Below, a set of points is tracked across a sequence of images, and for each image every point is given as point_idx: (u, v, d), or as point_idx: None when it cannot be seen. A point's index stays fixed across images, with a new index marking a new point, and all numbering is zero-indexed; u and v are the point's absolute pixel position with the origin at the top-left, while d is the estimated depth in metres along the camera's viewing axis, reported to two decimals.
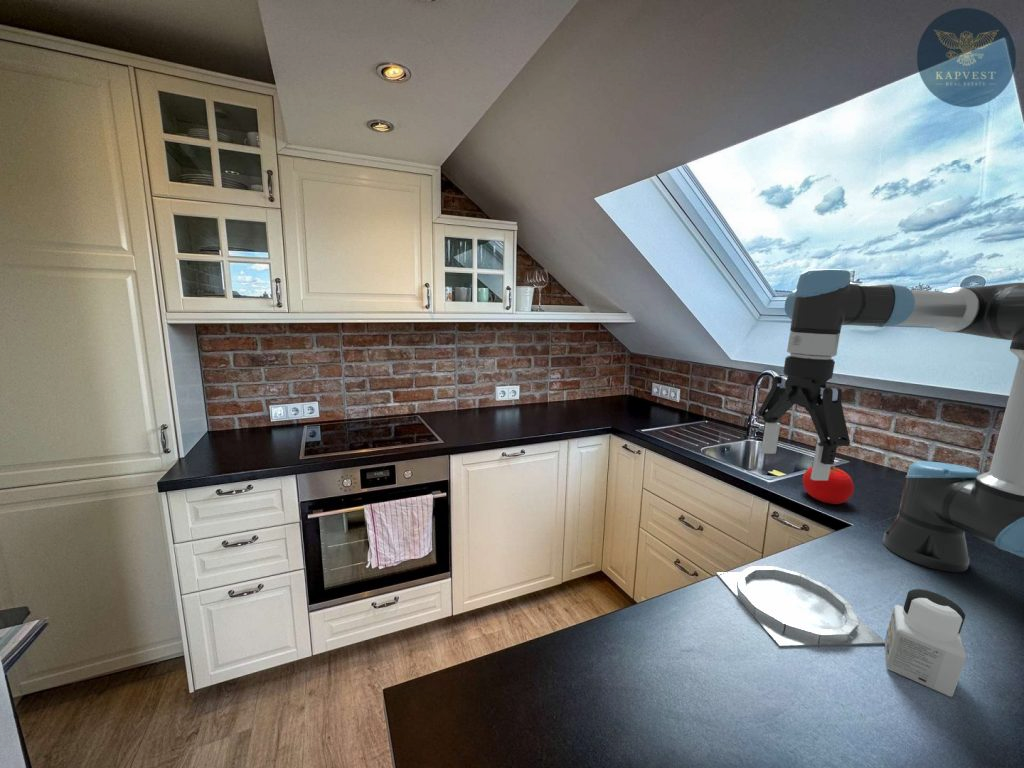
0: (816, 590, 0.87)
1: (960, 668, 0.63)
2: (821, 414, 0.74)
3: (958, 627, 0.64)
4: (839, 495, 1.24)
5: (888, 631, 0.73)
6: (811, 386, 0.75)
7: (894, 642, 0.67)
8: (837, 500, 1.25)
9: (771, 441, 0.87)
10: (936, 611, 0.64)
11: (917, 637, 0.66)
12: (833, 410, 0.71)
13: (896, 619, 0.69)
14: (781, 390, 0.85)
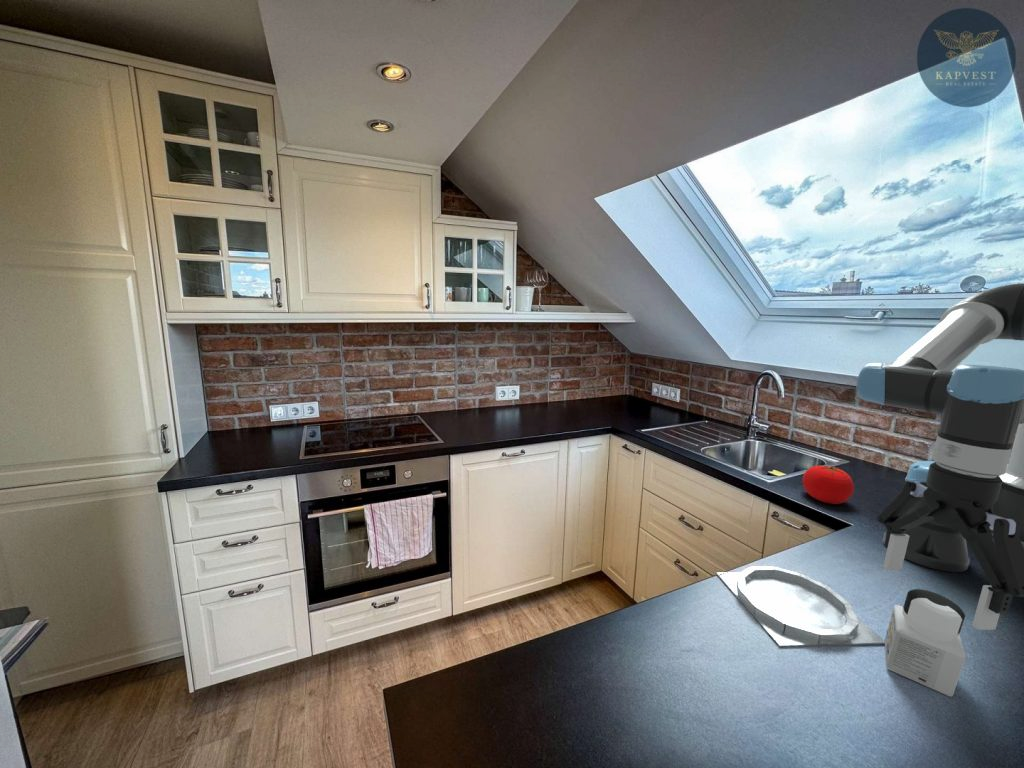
0: (816, 590, 0.87)
1: (960, 668, 0.63)
2: (987, 546, 0.60)
3: (958, 627, 0.64)
4: (839, 495, 1.24)
5: (888, 631, 0.73)
6: (972, 509, 0.61)
7: (894, 642, 0.67)
8: (837, 500, 1.25)
9: (897, 556, 0.72)
10: (936, 611, 0.64)
11: (917, 637, 0.66)
12: (1012, 548, 0.57)
13: (896, 619, 0.69)
14: (914, 498, 0.70)
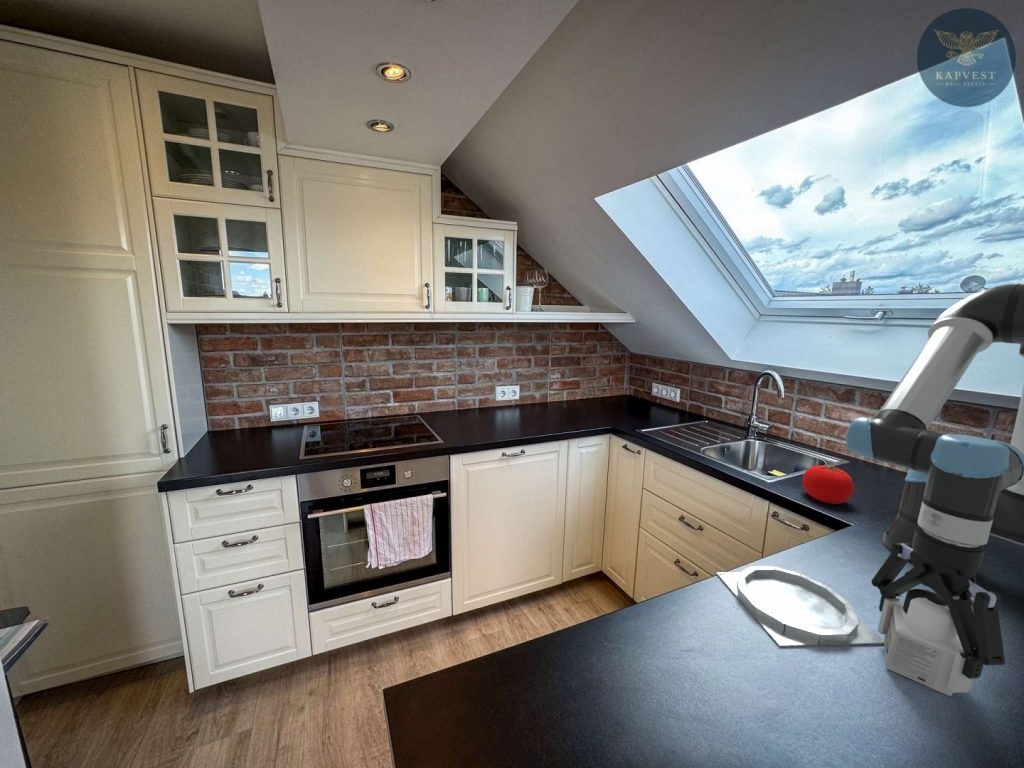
0: (816, 590, 0.87)
1: None
2: (965, 614, 0.62)
3: None
4: (839, 495, 1.24)
5: (887, 631, 0.73)
6: (956, 577, 0.63)
7: (893, 642, 0.68)
8: (837, 500, 1.25)
9: None
10: (936, 611, 0.64)
11: (916, 636, 0.66)
12: (988, 621, 0.59)
13: (895, 619, 0.69)
14: (903, 560, 0.72)
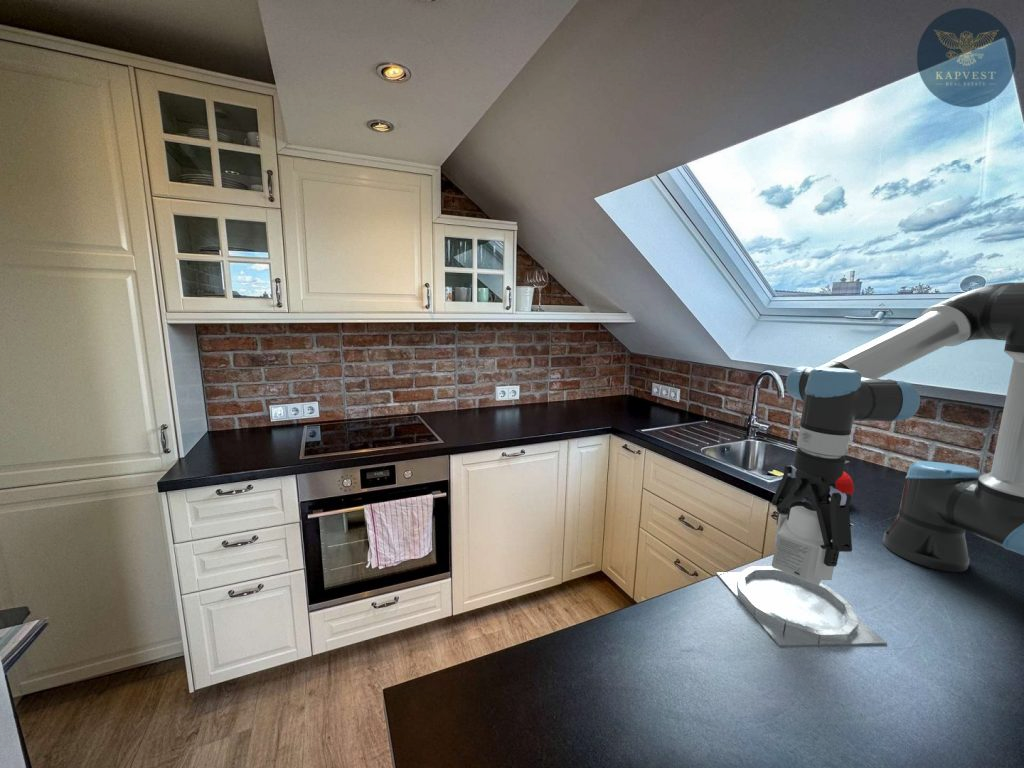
0: (816, 590, 0.87)
1: None
2: (828, 514, 0.75)
3: None
4: None
5: None
6: (821, 484, 0.75)
7: (776, 543, 0.80)
8: None
9: None
10: (806, 514, 0.77)
11: (792, 537, 0.78)
12: (840, 516, 0.72)
13: None
14: (793, 479, 0.84)
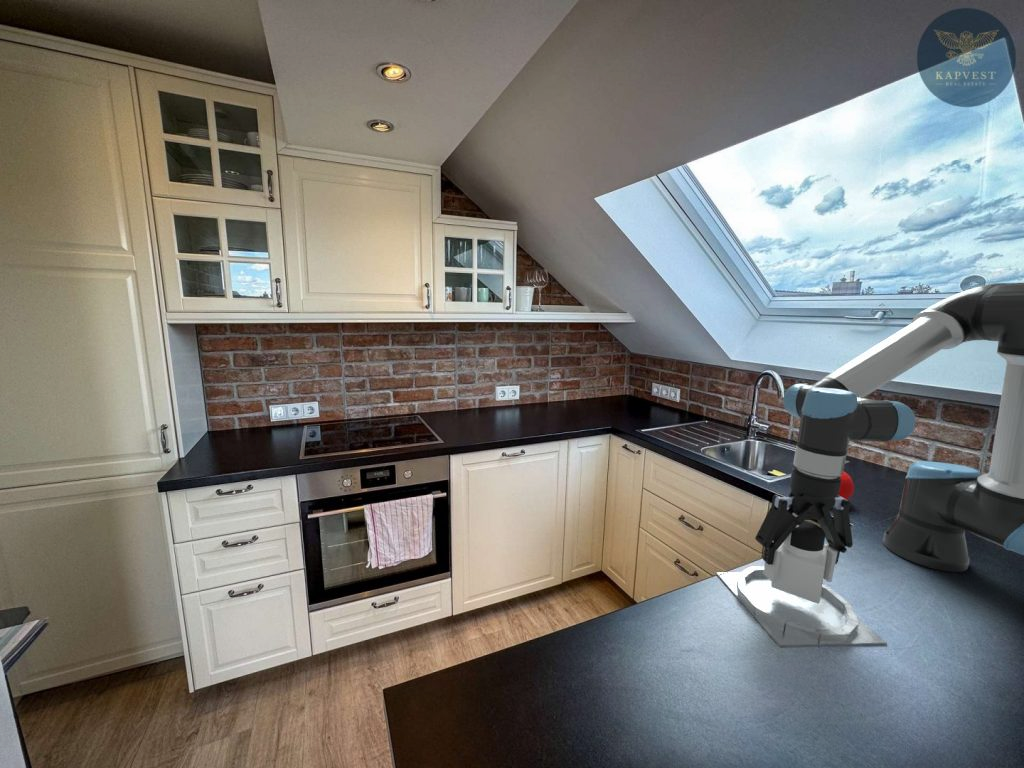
0: None
1: None
2: (785, 521, 0.80)
3: (789, 537, 0.80)
4: (839, 495, 1.24)
5: None
6: None
7: None
8: None
9: None
10: None
11: None
12: (770, 514, 0.79)
13: None
14: (838, 511, 0.80)
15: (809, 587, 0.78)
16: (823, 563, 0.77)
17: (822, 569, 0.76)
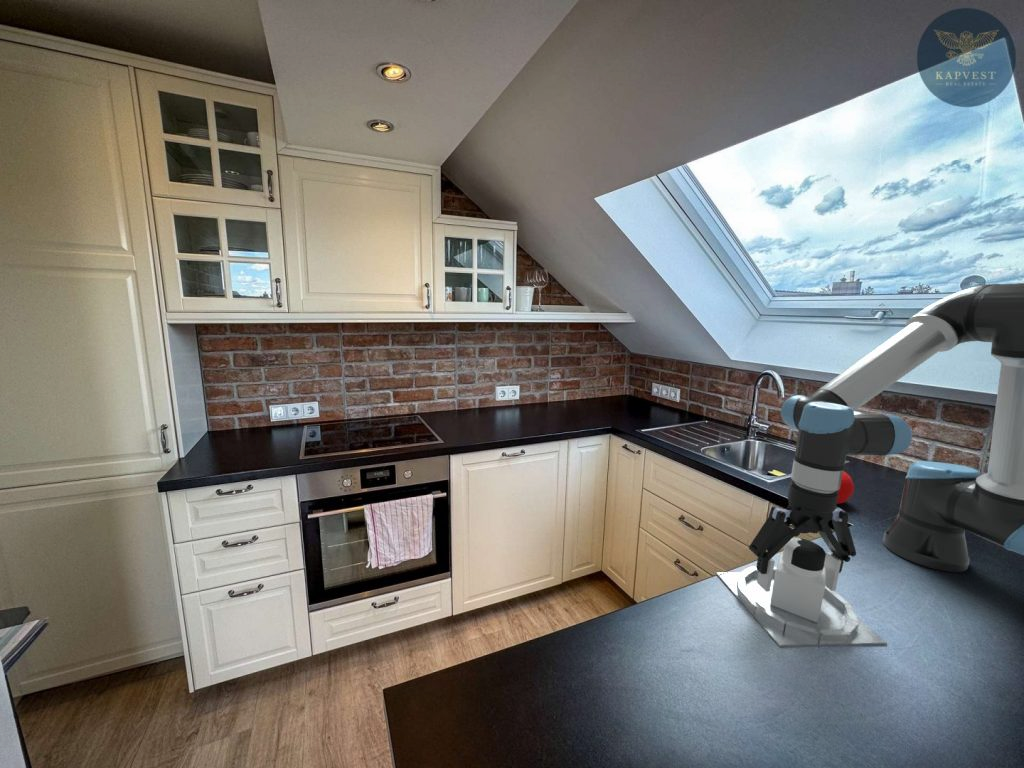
0: None
1: (774, 580, 0.81)
2: (780, 533, 0.80)
3: (790, 556, 0.80)
4: (839, 495, 1.24)
5: None
6: None
7: None
8: None
9: (828, 574, 0.82)
10: None
11: (779, 558, 0.85)
12: (767, 525, 0.80)
13: None
14: (837, 523, 0.80)
15: (808, 606, 0.78)
16: (823, 583, 0.77)
17: (822, 589, 0.77)
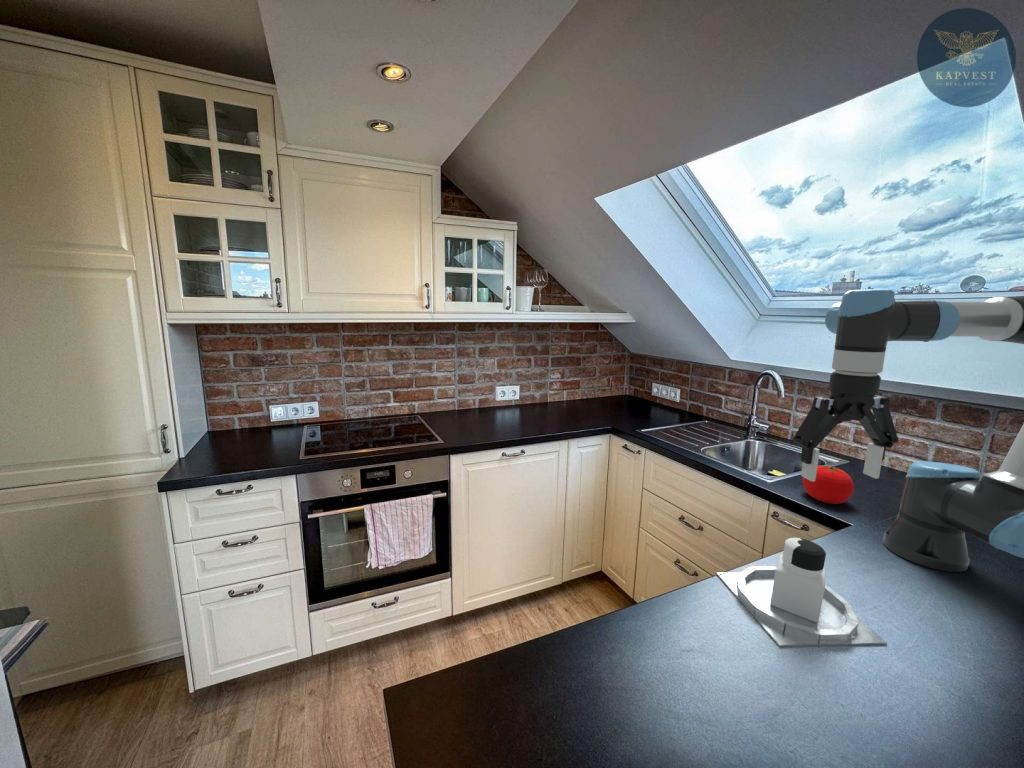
0: None
1: (774, 579, 0.81)
2: (824, 422, 0.81)
3: (790, 556, 0.80)
4: (839, 495, 1.24)
5: None
6: None
7: None
8: (837, 500, 1.25)
9: (871, 463, 0.84)
10: (787, 540, 0.83)
11: (779, 558, 0.85)
12: (810, 415, 0.81)
13: None
14: (878, 410, 0.82)
15: (808, 606, 0.78)
16: (823, 583, 0.77)
17: (822, 589, 0.77)
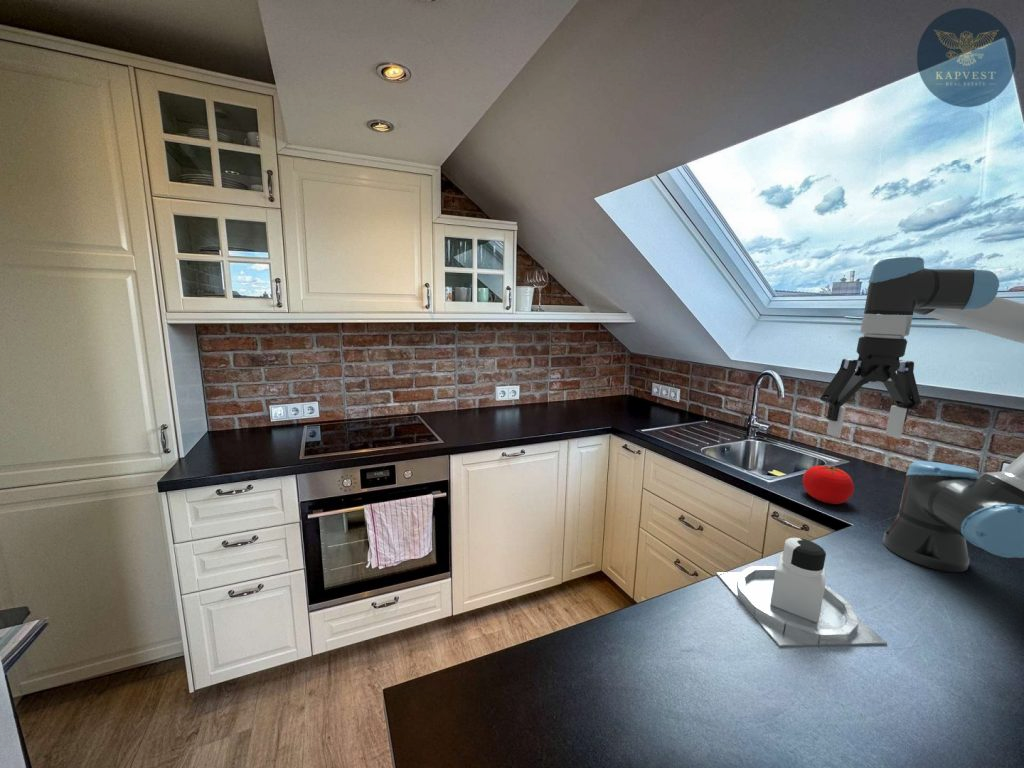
0: None
1: (774, 579, 0.81)
2: (851, 382, 0.87)
3: (790, 556, 0.80)
4: (839, 495, 1.24)
5: None
6: None
7: None
8: (837, 500, 1.25)
9: (893, 424, 0.89)
10: (787, 540, 0.83)
11: (779, 558, 0.85)
12: (838, 375, 0.87)
13: None
14: (903, 373, 0.87)
15: (808, 606, 0.78)
16: (823, 583, 0.77)
17: (822, 589, 0.77)
